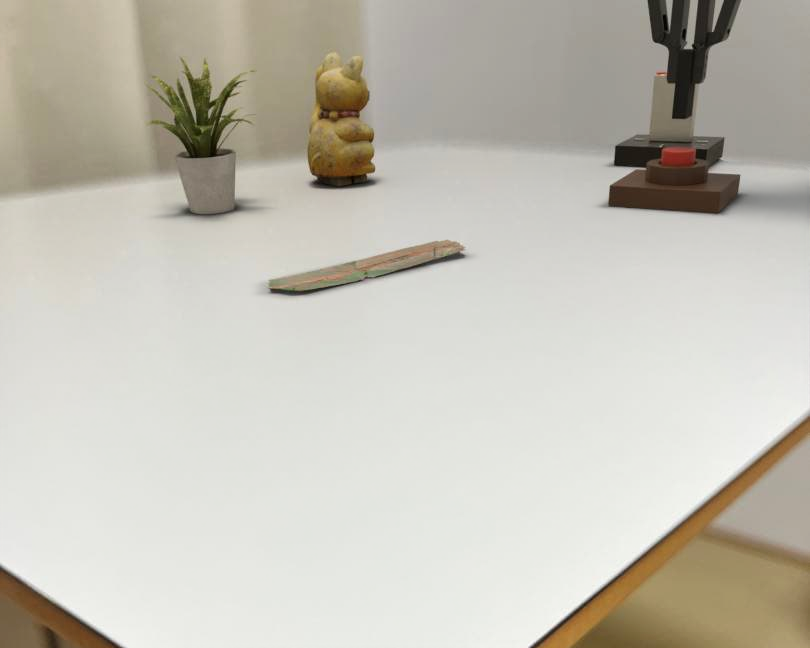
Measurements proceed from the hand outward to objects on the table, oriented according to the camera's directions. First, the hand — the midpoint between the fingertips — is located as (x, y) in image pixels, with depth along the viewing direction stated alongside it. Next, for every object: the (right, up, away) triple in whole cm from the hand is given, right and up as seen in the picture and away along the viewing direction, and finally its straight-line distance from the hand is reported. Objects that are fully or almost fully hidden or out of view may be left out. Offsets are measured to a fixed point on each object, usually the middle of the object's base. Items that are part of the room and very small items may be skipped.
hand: (681, 117), depth 102 cm
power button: (0, -5, +2) cm, 5 cm away
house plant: (-52, -7, +9) cm, 53 cm away
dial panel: (+5, +5, +25) cm, 26 cm away
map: (-33, -21, -16) cm, 43 cm away
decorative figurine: (-39, 0, +21) cm, 44 cm away
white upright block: (+5, +7, +23) cm, 25 cm away
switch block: (0, -8, +4) cm, 9 cm away
